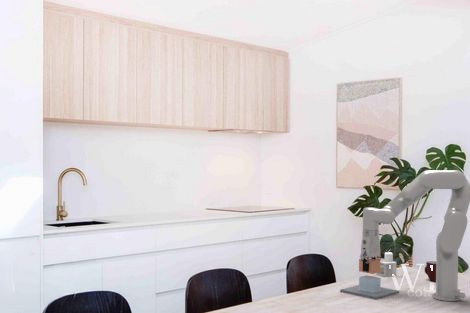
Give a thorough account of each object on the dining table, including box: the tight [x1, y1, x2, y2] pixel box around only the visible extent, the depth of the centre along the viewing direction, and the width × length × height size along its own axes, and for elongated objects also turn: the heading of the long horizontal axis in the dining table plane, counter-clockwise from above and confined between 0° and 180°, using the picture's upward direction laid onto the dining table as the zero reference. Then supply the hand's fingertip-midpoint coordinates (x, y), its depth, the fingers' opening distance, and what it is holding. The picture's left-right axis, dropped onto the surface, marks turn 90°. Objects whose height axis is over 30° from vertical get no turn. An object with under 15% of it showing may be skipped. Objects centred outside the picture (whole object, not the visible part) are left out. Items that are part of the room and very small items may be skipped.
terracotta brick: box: [358, 258, 381, 275], centre depth 284 cm, size 8×6×6 cm
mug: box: [424, 260, 436, 283], centre depth 314 cm, size 11×8×10 cm
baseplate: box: [339, 284, 400, 301], centre depth 284 cm, size 20×20×1 cm
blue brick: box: [358, 275, 381, 292], centre depth 284 cm, size 8×6×6 cm
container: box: [376, 250, 398, 278], centre depth 327 cm, size 8×8×13 cm
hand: (369, 270), depth 284 cm, fingers closed on terracotta brick, 6 cm apart
